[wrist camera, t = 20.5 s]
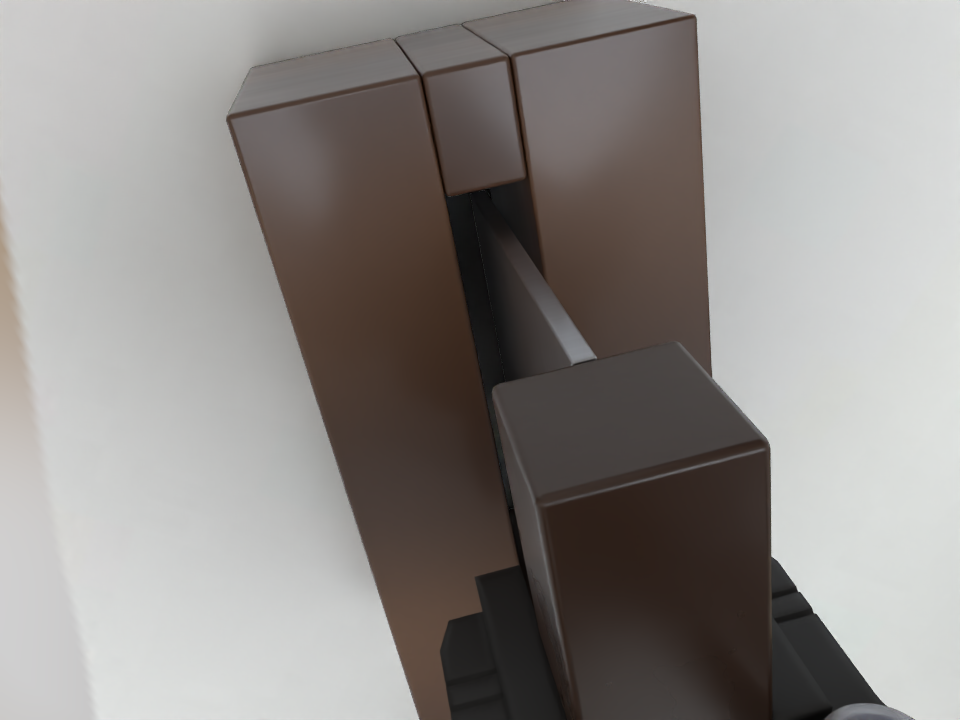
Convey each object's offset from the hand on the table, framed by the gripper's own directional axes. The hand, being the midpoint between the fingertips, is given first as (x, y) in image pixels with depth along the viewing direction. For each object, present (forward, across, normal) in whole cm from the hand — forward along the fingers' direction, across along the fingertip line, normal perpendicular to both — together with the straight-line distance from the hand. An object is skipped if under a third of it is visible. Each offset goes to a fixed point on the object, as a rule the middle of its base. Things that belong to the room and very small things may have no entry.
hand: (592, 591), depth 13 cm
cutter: (+6, 0, 0) cm, 6 cm away
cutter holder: (+9, 0, 0) cm, 9 cm away
